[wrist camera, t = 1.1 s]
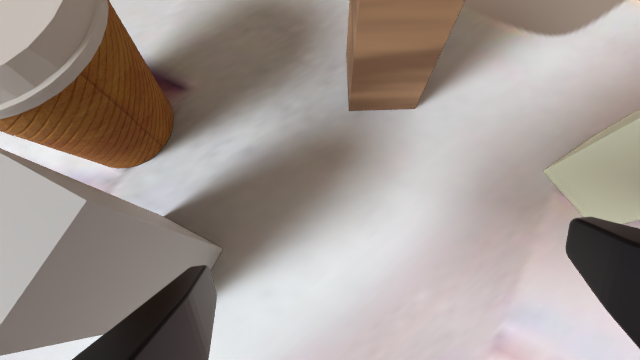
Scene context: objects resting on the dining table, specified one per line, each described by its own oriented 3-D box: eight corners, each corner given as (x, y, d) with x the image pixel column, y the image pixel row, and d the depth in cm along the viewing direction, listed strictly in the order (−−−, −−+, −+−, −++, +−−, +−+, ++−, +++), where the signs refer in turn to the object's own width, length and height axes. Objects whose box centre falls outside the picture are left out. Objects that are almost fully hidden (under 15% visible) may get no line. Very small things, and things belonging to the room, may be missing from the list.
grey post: (223, 248, 22) (86, 200, 10) (183, 317, 21) (-25, 360, 9) (163, 216, 23) (-35, 134, 11) (121, 281, 22) (-152, 274, 10)
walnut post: (414, 108, 25) (499, -73, 12) (348, 110, 25) (365, -67, 12) (409, 52, 26) (480, -165, 14) (346, 54, 26) (359, -158, 14)
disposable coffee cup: (40, 107, 26) (-197, -39, 14) (162, 44, 27) (34, -138, 15) (90, 219, 23) (-148, 153, 12) (221, 144, 24) (122, 17, 13)
